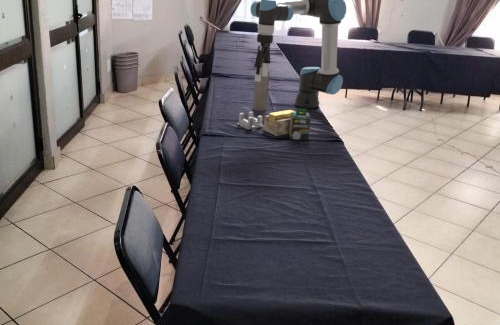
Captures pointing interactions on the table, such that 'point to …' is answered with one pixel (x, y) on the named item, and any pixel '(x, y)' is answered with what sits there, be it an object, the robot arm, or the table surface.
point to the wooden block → (279, 115)
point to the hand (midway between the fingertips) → (261, 78)
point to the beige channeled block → (277, 126)
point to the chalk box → (299, 125)
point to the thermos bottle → (261, 92)
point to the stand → (250, 121)
